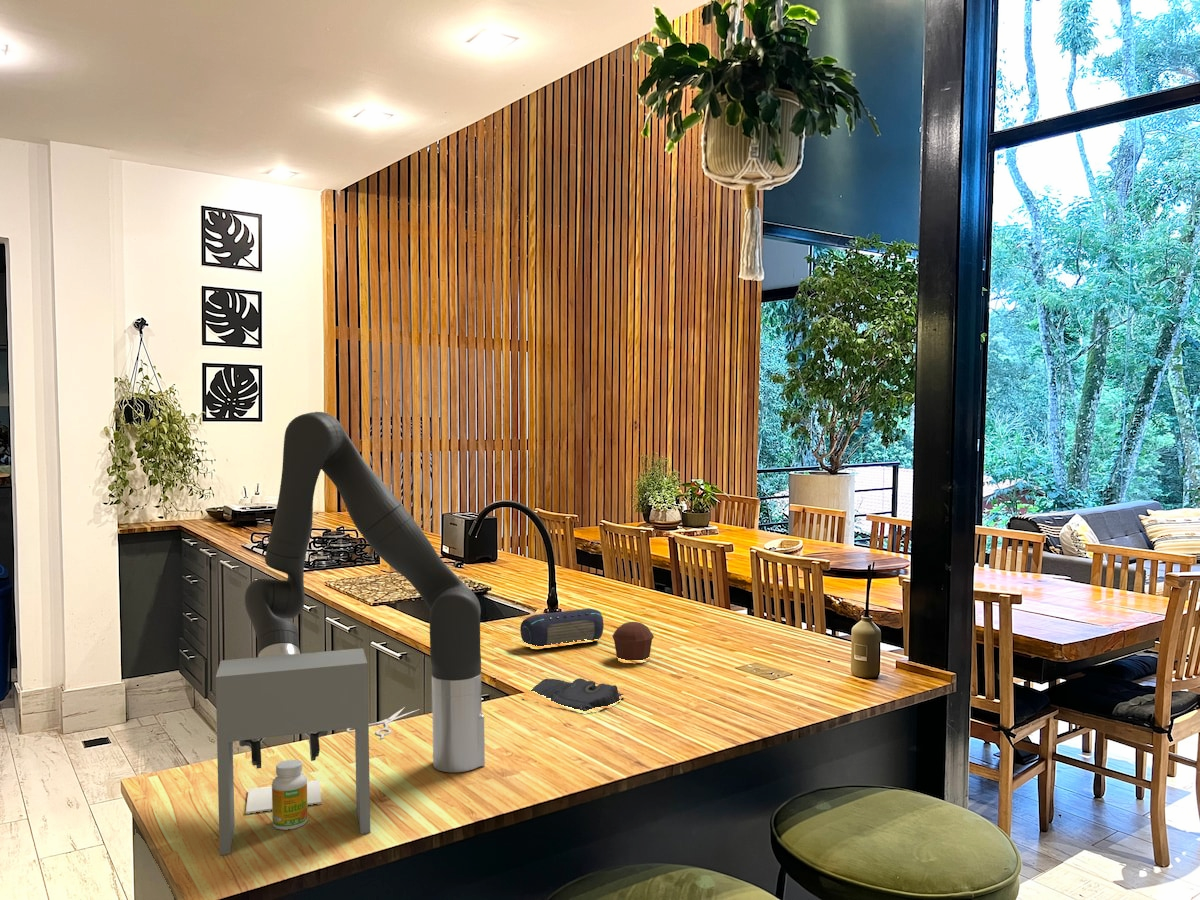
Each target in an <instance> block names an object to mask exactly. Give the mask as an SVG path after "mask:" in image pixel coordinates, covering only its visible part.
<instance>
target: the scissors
mask: <svg viewBox="0 0 1200 900" xmlns="http://www.w3.org/2000/svg"><path fill="white" fill-rule="evenodd" d="M405 708H406V706H404V707H402V708H401V709H400V710H398V711H397V712H394V713H393V714H392V715H391V716H390V717H388V718H385V719H383V720H380V721H377V722H373V723H369V727H371V726H375V725H376V726H377V725H382V724H384V726H385V727H383V728H380V729H377V730H376V731H375V734H376V735H377V736H378V737H380V740H384V739H385V736H388V735H390V734H392V730H391V729H390V728H389V727H390V725H389V724H390V723H392V721H395V720H397V719H400V718H402V717H405V716H408V715H410V714H412V713H414V712H415V713H416V712H417V711H419V710H420V709H419V708H418V709H416V710H413V711H410V712H409V711H408V712H407V713H403V714H401V712H402V711H403V710H404V709H405ZM399 714H401V715H399ZM387 724H388V725H387ZM384 731H385V733H381V732H384ZM346 732H347V733H355V729H354V730H352V728H348V729H346Z"/></svg>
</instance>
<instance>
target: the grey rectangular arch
mask: <svg viewBox="0 0 1200 900" xmlns="http://www.w3.org/2000/svg"><path fill="white" fill-rule="evenodd" d="M368 668H369V666H368V661H367V657H366V653H365V650H364V648H363V647H362V648H351V649H341V650H339V649H338V650H328V651H327V650H326V651H325V650H324V651H317V652H305V653H304V652H303V653H300V654H291V655H279V656H267V657H258V656H257V657H246V658H237V659H236V658H235V659H224V660H223V659H222V660H220V662H219V665H218V667H217V672H216V675H215V702H216V704H215V705H216V706H215V707H216V710H215V711H216V713H215V714H216V747H217V748H216V749H217V750H216V751H217V753H216V755H217V790H218V791H217V793H218V795H217V797H218V799H217V803H218V838H219V856H225V855H231V852H232V847H231V846H232V845H233V840H234V839H233V837H234V831H235V791H234V790H235V786H234V785H235V784H234V783H235V782H234V777H235V775H234V743H233V742H239V741H242V740H251V739H259V738H265V739H266V738H267V739H268V738H275V737H284V736H285V737H286V736H292V735H302V734H304V735H305V733H312V732H321V731H328V732H329V731H338V730H347V729H348V728H351V729H354V730H355V732H354V738H355V739H354V740H355V741H354V742H355V743H354V745H355V746H354V747H355V749H354V750H355V751H354V753H355V800H356V801H355V805H356V809H355V810H356V814H357V819H358V827H359V832H360V835H363V834H370V833H371V799H370V798H371V796H370V795H371V794H370V793H371V789H370V781H371V780H370V737H369V736H370V734H369V732H370V731H369V730H370V729H369V727H370V726H369V724H370V723H369V674H368V673H369V672H368ZM232 839H233V840H232Z"/></svg>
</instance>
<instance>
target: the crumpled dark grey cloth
mask: <svg viewBox="0 0 1200 900" xmlns="http://www.w3.org/2000/svg"><path fill="white" fill-rule="evenodd" d="M531 689H532V688H531ZM531 689H530V690H531ZM531 691H535V692H537V693H538V694H540V695H544V696H546V698H551V701H554V702H556V703H558V704H561V705H564V706H568V707H572V708H574V709H580V710H583V711H587V710H589V709H592V708H595V707H601V706H608V705H610V704H613V703H615V702H617V701H619V700H620V699H619V696H621V695H624V693H620V692H619V691H618V686H617V685H616V684H614V685H612V684H608V683H599V684H598V685H596V682H595V681H593V680H585V678H576V679H574V680H572V682H570V681H569V682H568V681H565V680H563V679H562V680H561V679H557V678H545V679H542V680H541V681H540V682H539V683H538V684H536V685H535V686H534V687H533V689H532V690H531Z"/></svg>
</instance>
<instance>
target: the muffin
mask: <svg viewBox="0 0 1200 900" xmlns="http://www.w3.org/2000/svg"><path fill="white" fill-rule="evenodd" d="M611 636H612V639H613V641H614V642H613V643H614V648H615V655H616V658H617V657H618V658H621V659H625V660H643V659H646V658H648V657H649V658H650V655H651V650H652V642H653V641H652V640H653V639H654V636H655V635H654V634H653V633H652V631H651V630H650V628H649V627H648V626H647V625H645V624H644V623H642V622H639V621H628V622H624V623H623V624H621V625H620V626H619V627H617V628H616V629H615V631H614V632H613V634H612V635H611Z"/></svg>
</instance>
